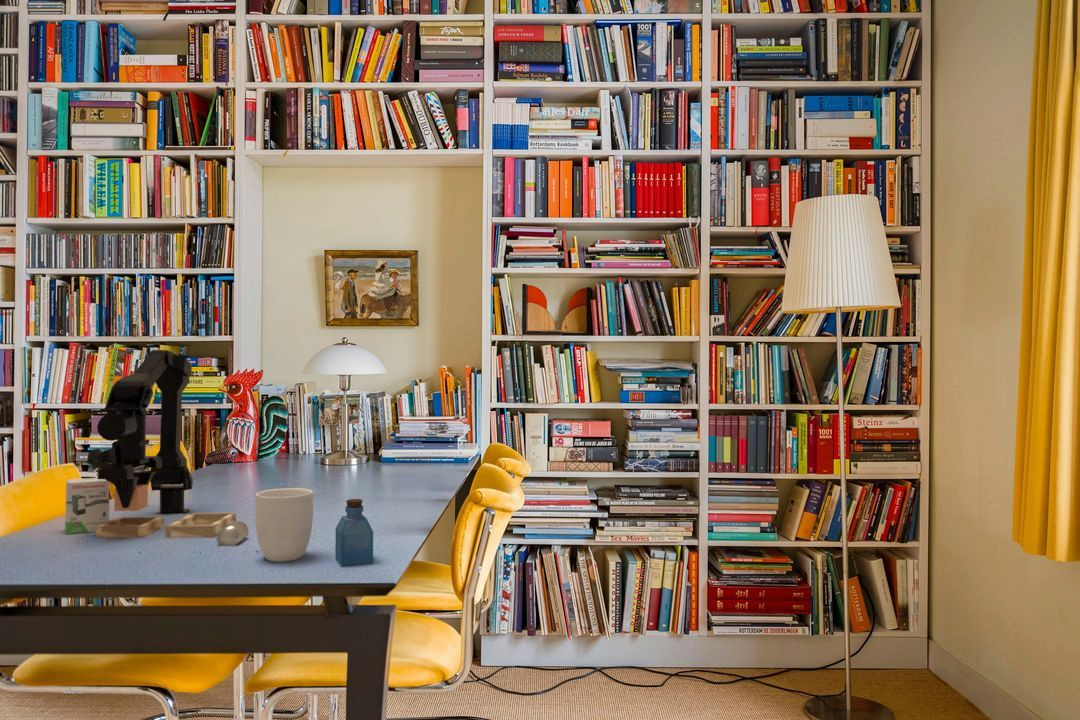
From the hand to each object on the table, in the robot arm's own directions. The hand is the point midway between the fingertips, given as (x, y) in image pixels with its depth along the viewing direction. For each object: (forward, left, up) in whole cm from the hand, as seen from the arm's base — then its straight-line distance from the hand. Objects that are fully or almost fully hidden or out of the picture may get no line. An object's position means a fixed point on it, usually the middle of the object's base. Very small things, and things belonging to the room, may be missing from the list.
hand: (131, 505), depth 177 cm
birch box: (-2, +15, -7) cm, 16 cm away
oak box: (0, 0, -7) cm, 7 cm away
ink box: (-5, -12, -7) cm, 15 cm away
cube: (0, 0, -1) cm, 1 cm away
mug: (+21, +39, -7) cm, 45 cm away
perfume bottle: (+25, +54, -7) cm, 60 cm away
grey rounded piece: (+10, +24, -5) cm, 26 cm away
